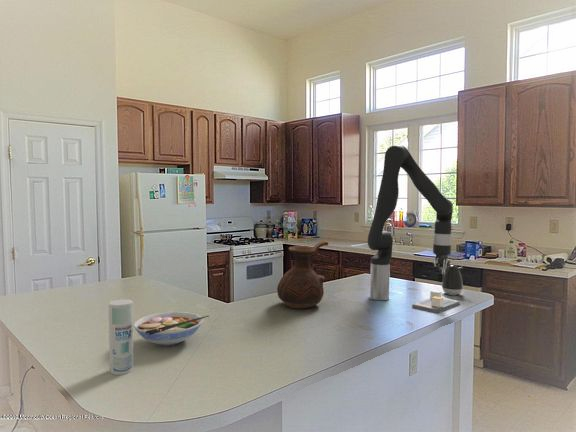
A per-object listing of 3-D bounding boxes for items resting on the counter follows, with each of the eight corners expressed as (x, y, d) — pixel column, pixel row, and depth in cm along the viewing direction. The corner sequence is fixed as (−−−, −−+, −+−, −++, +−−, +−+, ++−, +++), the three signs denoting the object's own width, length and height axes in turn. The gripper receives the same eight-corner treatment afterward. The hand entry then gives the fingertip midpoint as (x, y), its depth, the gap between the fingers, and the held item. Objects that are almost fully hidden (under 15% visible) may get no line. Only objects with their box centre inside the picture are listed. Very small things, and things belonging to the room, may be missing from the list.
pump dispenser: (466, 296, 213) (467, 266, 213) (445, 296, 214) (446, 266, 213) (458, 291, 224) (459, 263, 223) (438, 291, 224) (439, 263, 223)
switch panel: (436, 313, 184) (437, 309, 184) (412, 307, 192) (412, 304, 192) (459, 304, 199) (459, 301, 199) (435, 299, 207) (435, 296, 207)
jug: (306, 314, 180) (307, 244, 178) (267, 306, 193) (268, 240, 191) (333, 304, 197) (334, 240, 195) (295, 296, 210) (296, 236, 208)
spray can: (112, 376, 118) (111, 306, 117) (107, 369, 123) (106, 301, 122) (136, 371, 122) (135, 302, 121) (130, 363, 127) (129, 298, 126)
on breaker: (438, 299, 200) (438, 292, 199) (430, 298, 203) (430, 291, 202) (441, 298, 202) (441, 291, 201) (433, 297, 205) (433, 290, 204)
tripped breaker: (439, 307, 186) (440, 299, 186) (431, 305, 189) (431, 297, 189) (443, 306, 188) (443, 297, 188) (434, 304, 191) (434, 296, 191)
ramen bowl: (179, 326, 163) (178, 305, 162) (218, 340, 148) (218, 317, 148) (117, 344, 144) (117, 320, 143) (156, 361, 129) (156, 335, 129)
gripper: (443, 245, 182) (441, 285, 183) (456, 243, 191) (455, 281, 192) (427, 243, 187) (425, 282, 189) (441, 241, 197) (439, 278, 198)
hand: (440, 281), depth 190 cm, fingers closed
